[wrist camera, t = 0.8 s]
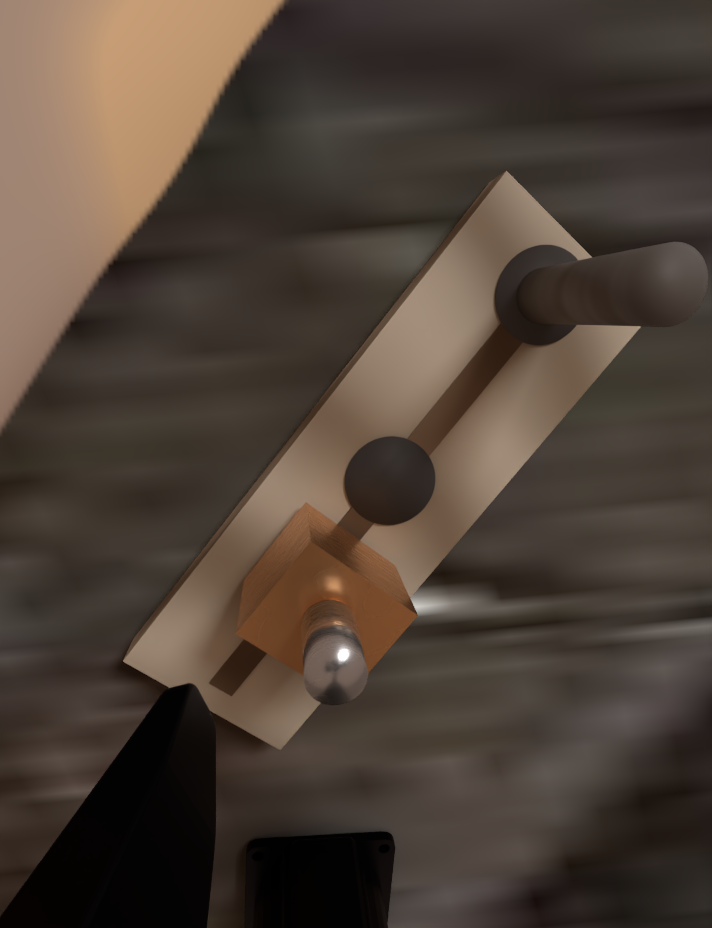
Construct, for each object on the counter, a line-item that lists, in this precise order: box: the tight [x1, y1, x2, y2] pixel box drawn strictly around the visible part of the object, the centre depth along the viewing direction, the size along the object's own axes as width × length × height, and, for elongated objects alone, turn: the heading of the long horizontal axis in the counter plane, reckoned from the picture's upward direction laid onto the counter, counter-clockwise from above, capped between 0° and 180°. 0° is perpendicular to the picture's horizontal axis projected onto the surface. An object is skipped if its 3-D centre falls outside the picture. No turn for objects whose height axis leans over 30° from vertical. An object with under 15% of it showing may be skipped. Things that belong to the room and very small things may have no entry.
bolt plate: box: [123, 171, 708, 750], centre depth 17 cm, size 21×7×8 cm, turn 141°
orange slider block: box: [236, 502, 418, 705], centre depth 17 cm, size 4×4×6 cm
